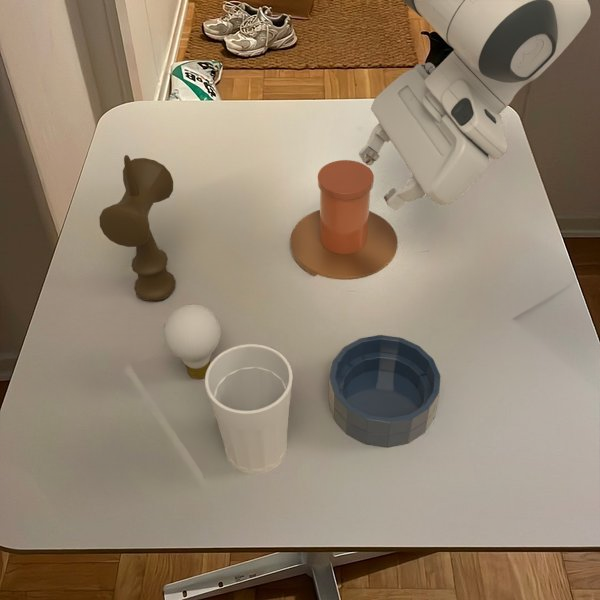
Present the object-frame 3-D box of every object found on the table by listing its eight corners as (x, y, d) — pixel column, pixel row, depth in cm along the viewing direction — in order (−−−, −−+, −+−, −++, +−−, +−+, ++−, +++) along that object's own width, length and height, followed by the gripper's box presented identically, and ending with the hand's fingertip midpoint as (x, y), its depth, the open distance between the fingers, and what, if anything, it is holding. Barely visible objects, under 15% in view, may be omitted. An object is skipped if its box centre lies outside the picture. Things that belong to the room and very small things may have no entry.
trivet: (353, 199, 104) (354, 193, 103) (419, 254, 96) (419, 248, 95) (270, 237, 99) (270, 231, 98) (331, 298, 90) (332, 292, 90)
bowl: (389, 349, 85) (392, 320, 81) (456, 415, 78) (463, 387, 75) (309, 394, 80) (309, 365, 77) (373, 468, 74) (376, 441, 70)
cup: (202, 446, 76) (187, 373, 67) (263, 404, 80) (256, 330, 71) (249, 499, 72) (239, 429, 63) (311, 453, 75) (310, 380, 67)
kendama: (189, 265, 95) (166, 132, 81) (167, 320, 88) (139, 185, 74) (144, 260, 96) (114, 127, 81) (120, 314, 89) (82, 180, 75)
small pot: (348, 215, 100) (351, 153, 93) (380, 242, 96) (385, 180, 89) (307, 234, 97) (306, 172, 90) (337, 263, 93) (339, 200, 86)
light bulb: (235, 363, 84) (228, 302, 76) (209, 402, 80) (199, 342, 73) (190, 347, 85) (179, 286, 78) (163, 384, 82) (148, 324, 74)
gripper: (411, 42, 90) (334, 124, 95) (483, 130, 76) (387, 220, 81) (441, 70, 94) (365, 148, 99) (514, 159, 80) (421, 244, 85)
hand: (375, 181), depth 90 cm, fingers open, 8 cm apart
